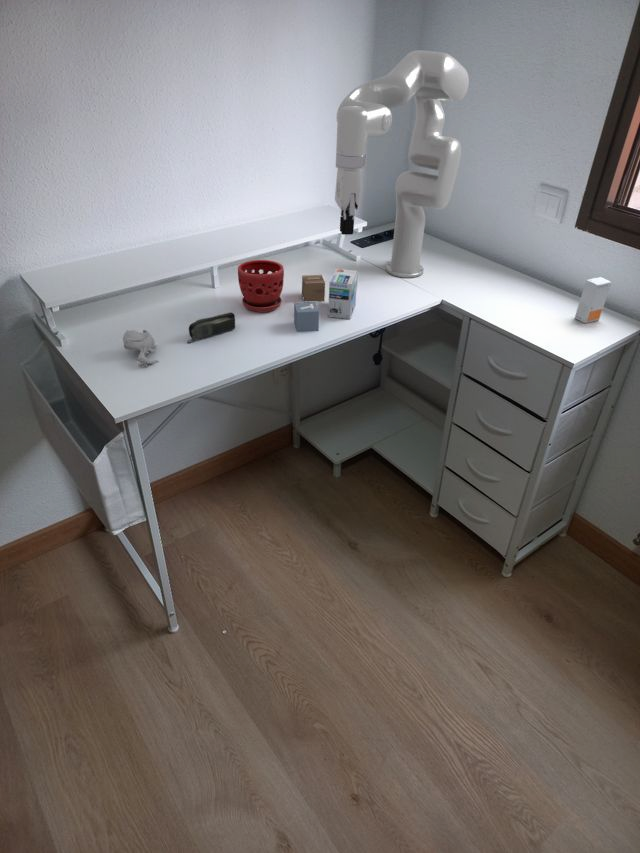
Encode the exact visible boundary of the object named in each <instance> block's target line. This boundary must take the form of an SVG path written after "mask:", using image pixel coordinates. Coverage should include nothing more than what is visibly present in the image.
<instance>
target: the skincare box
mask: <svg viewBox="0 0 640 853" xmlns="http://www.w3.org/2000/svg"><path fill="white" fill-rule="evenodd" d="M612 283H613V282H612V281H610V280H608V279H606V278H604V277H602V276H599V277H593V278H589V279H586V280H585V283H584V286H583V289H582V293H581V295H580V296H581V297H580V298H579V302H578V306H577V308H576V312H575V315H574V319H576V320H578V321H580V322H582V323H583V324H587V323H593V322H595V321H600V318H601V315H602V312H603V310H604V306H605V304H606V300H607V299H608V298H607V297H608V295H609V292H610V288H611V286H612Z"/></svg>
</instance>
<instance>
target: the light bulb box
mask: <svg viewBox="0 0 640 853" xmlns="http://www.w3.org/2000/svg"><path fill="white" fill-rule="evenodd" d="M358 273H359V272H358V270H350V269H345V268H344V269H343V268H335V270H334V272H333V274H332V276H331V278H330V279H329V284H328V286H329V287H328V309H327V310H328V311H327V313H328V314H327V317H331V318H337V319H344V320H345V319H346V320H351V317H352V316H353V313H354V311H355V308H356V305H357V304H356V303H357V289H358V288H357V287H358Z"/></svg>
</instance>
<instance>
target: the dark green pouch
mask: <svg viewBox="0 0 640 853" xmlns="http://www.w3.org/2000/svg"><path fill="white" fill-rule="evenodd" d="M235 329H236V317H235V314H234V312H227V313H223V314H218V315H215V316H210V317H206V318H200V319H197V320H195V321H193V322H192V323H190V324H189V326H188V334H189V337H190V338H191V339H189V340H187V341H186V342H187V344H190V343H193V342H196V341H199V340H200V341H201V340H204V339H207V338H210V337H214V336H219V335H222V334H225V333H229V332H232V331H234V330H235Z"/></svg>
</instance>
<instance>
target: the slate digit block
mask: <svg viewBox="0 0 640 853" xmlns="http://www.w3.org/2000/svg"><path fill="white" fill-rule="evenodd" d="M319 322H320V310H319V307H318V305H317V302H305V301H304V302H303V301H302V302H294V303H293V324H294V327H295V330H296V333H306V332H319V330H320V329H319V327H320V326H319V325H320V324H319Z"/></svg>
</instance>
